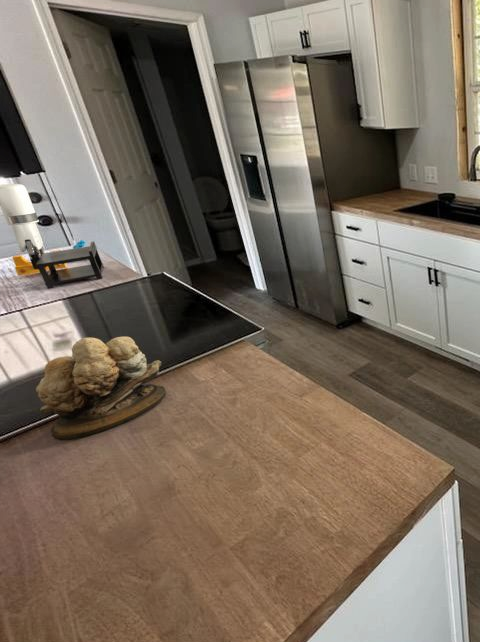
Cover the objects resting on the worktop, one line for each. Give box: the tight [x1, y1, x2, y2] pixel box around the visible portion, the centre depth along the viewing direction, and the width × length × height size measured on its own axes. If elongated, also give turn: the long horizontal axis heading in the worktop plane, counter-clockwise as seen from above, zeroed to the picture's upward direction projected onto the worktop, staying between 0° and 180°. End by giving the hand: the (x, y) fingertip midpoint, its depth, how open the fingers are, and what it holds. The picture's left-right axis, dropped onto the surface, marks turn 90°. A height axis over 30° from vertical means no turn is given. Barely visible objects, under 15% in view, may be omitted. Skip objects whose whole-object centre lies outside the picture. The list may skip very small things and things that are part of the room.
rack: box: [36, 240, 105, 290], centre depth 149 cm, size 14×16×11 cm
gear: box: [72, 239, 89, 261], centre depth 169 cm, size 11×6×10 cm
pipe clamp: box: [11, 249, 68, 277], centre depth 154 cm, size 12×4×6 cm, turn 130°
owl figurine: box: [35, 336, 167, 441], centre depth 79 cm, size 18×12×17 cm, turn 137°
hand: (41, 266), depth 154 cm, fingers closed on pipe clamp, 4 cm apart
